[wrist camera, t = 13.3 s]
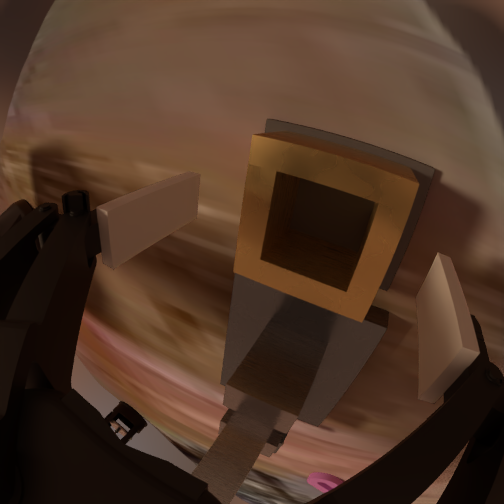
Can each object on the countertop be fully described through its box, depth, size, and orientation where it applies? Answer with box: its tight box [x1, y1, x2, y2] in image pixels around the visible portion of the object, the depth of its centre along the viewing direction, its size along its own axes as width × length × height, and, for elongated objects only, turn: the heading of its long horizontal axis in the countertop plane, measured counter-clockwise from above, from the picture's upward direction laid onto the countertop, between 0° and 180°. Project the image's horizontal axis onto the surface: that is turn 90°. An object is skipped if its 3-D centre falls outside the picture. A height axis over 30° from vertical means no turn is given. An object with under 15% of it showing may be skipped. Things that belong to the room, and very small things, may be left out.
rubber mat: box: [265, 119, 435, 291], centre depth 18 cm, size 11×9×1 cm
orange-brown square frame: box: [233, 131, 419, 322], centre depth 16 cm, size 8×8×5 cm
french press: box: [104, 401, 147, 444], centre depth 52 cm, size 12×9×23 cm
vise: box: [191, 273, 389, 504], centre depth 20 cm, size 12×19×16 cm, turn 171°
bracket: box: [307, 473, 343, 493], centre depth 34 cm, size 13×6×7 cm, turn 45°
